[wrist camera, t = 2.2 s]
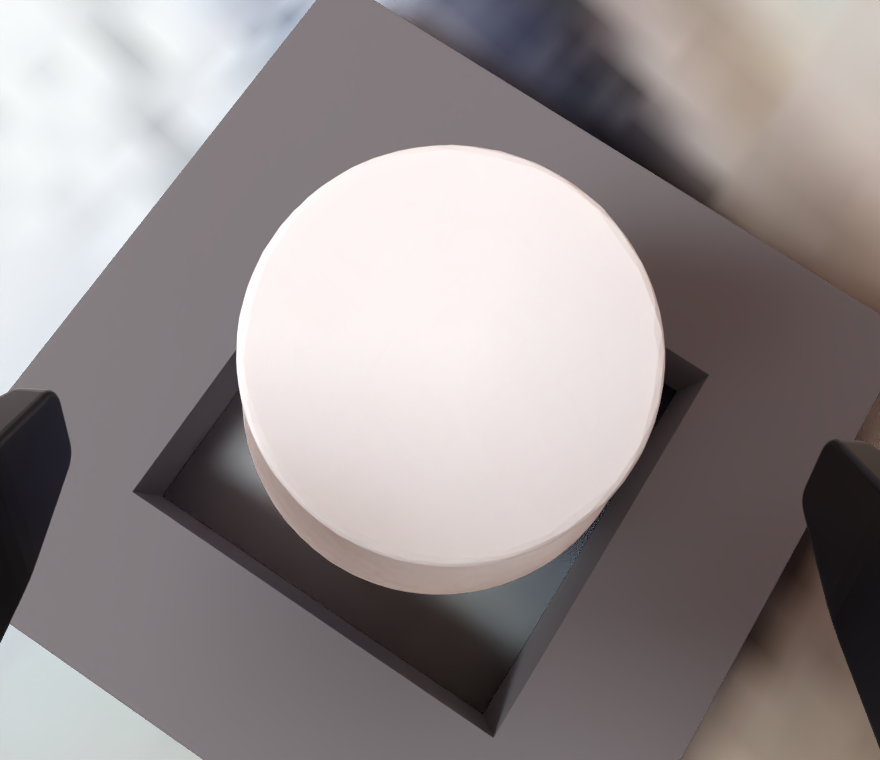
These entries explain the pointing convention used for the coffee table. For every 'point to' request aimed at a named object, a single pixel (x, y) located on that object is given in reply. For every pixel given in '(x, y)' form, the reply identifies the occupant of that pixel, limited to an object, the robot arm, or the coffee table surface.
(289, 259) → the pill bottle
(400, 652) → the coffee table surface
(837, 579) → the robot arm
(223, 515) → the coffee table surface
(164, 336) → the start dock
